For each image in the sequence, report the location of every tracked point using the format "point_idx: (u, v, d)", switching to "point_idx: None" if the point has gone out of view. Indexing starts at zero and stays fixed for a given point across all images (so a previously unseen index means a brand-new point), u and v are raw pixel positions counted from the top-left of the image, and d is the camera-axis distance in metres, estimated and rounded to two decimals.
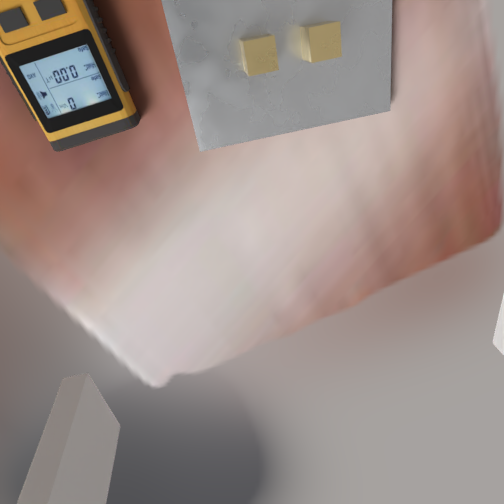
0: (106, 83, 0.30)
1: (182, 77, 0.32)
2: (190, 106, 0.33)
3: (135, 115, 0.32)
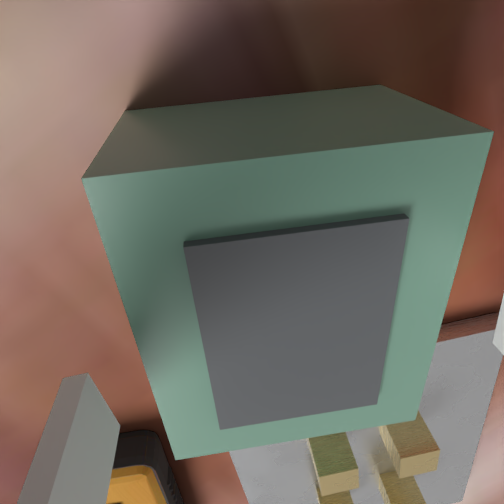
0: None
1: None
2: None
3: None
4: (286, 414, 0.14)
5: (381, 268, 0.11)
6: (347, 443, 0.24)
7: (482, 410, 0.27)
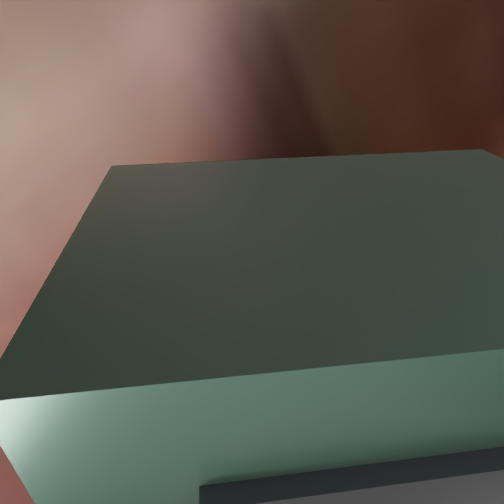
0: None
1: None
2: None
3: None
4: None
5: None
6: None
7: None
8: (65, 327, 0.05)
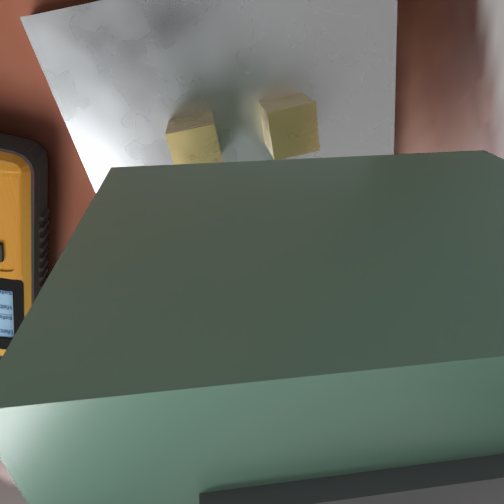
0: (15, 325, 0.25)
1: None
2: None
3: None
4: None
5: None
6: (210, 117, 0.20)
7: (388, 116, 0.22)
8: (63, 333, 0.05)
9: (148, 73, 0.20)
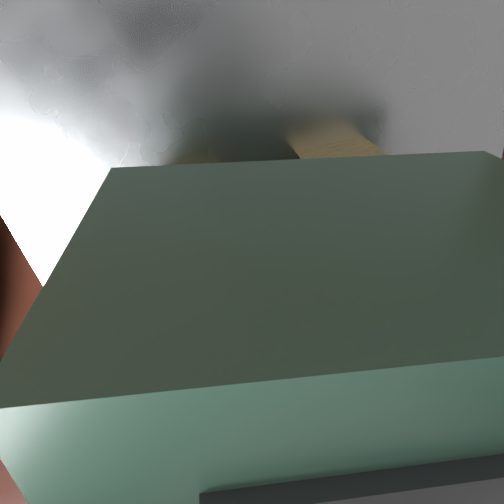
0: None
1: None
2: None
3: None
4: None
5: None
6: None
7: None
8: (64, 333, 0.05)
9: (116, 110, 0.12)
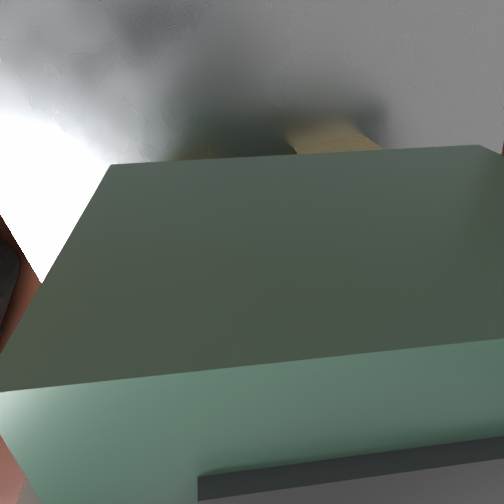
0: None
1: None
2: None
3: None
4: None
5: None
6: None
7: None
8: (64, 322, 0.05)
9: (115, 107, 0.12)
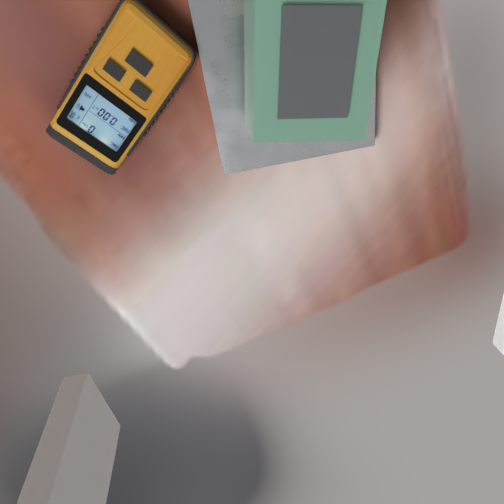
0: (123, 144, 0.40)
1: (213, 119, 0.41)
2: (218, 140, 0.42)
3: None
4: (307, 115, 0.32)
5: (351, 29, 0.29)
6: None
7: None
8: None
9: None
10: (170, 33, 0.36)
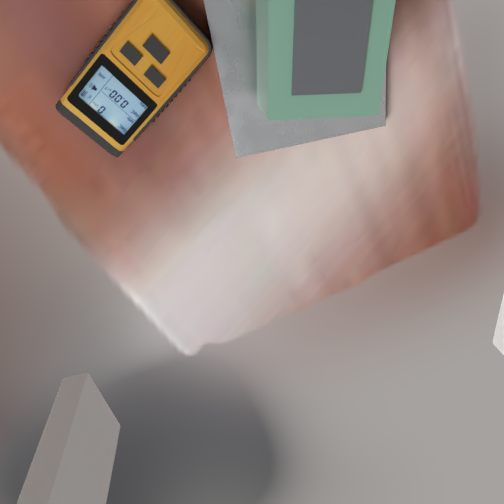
0: (131, 128, 0.40)
1: (225, 101, 0.41)
2: (230, 123, 0.43)
3: None
4: (321, 90, 0.32)
5: (364, 3, 0.29)
6: None
7: None
8: None
9: None
10: (190, 24, 0.36)
